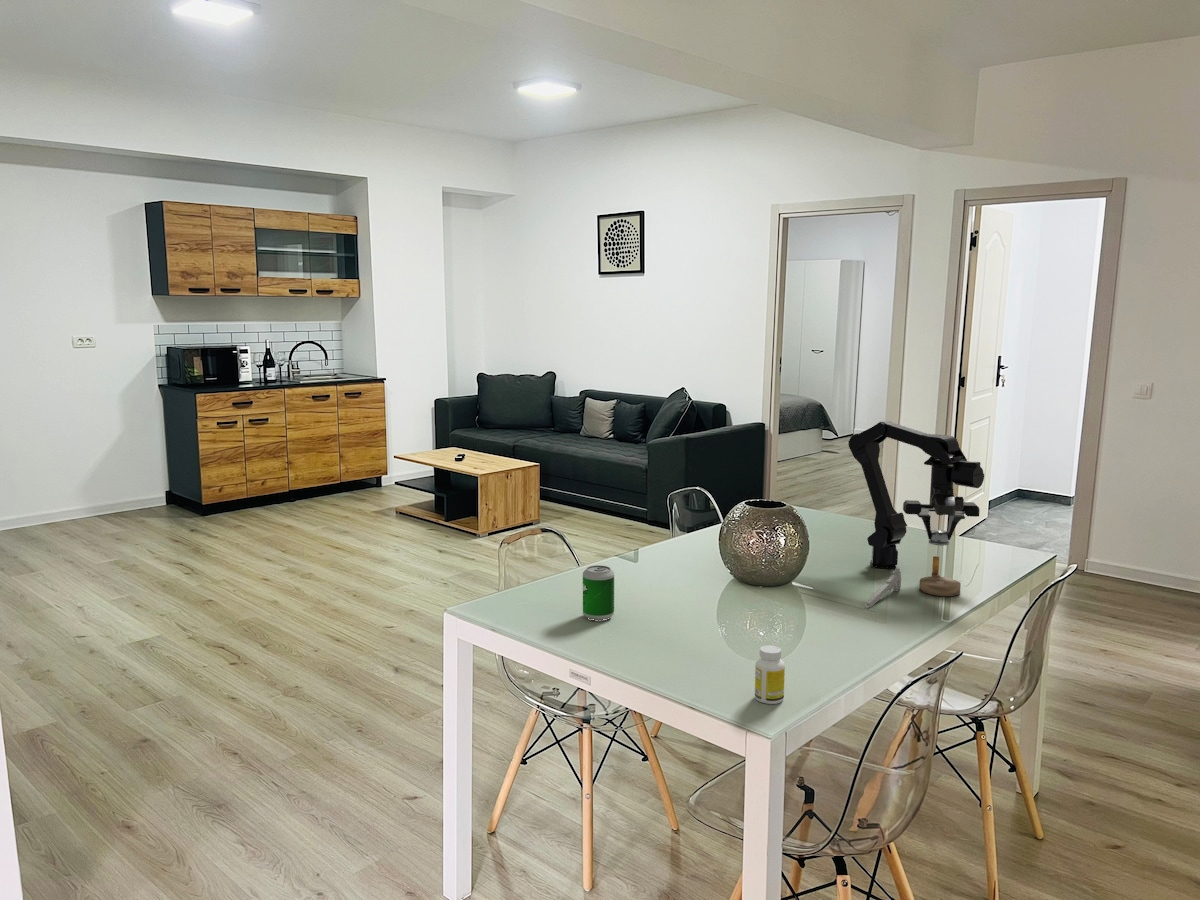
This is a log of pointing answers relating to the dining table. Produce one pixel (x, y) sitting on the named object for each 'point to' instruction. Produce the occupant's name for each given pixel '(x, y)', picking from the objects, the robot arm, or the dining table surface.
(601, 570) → the soda can
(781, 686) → the supplement bottle
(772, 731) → the dining table surface
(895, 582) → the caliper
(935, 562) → the turntable
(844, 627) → the dining table surface
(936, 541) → the cover
